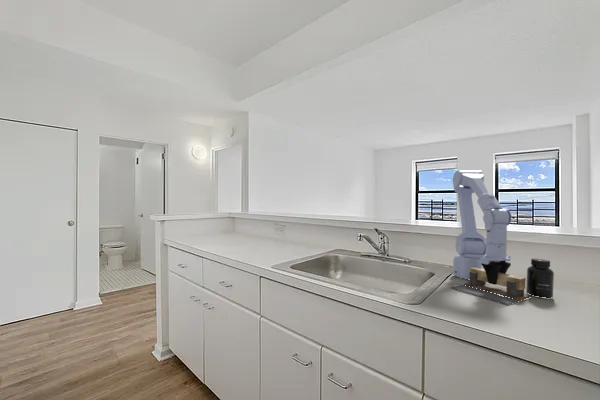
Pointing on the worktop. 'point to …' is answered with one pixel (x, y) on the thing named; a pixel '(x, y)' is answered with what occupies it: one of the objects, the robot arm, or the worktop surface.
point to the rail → (500, 278)
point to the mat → (485, 294)
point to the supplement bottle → (540, 278)
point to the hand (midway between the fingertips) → (495, 283)
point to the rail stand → (497, 288)
